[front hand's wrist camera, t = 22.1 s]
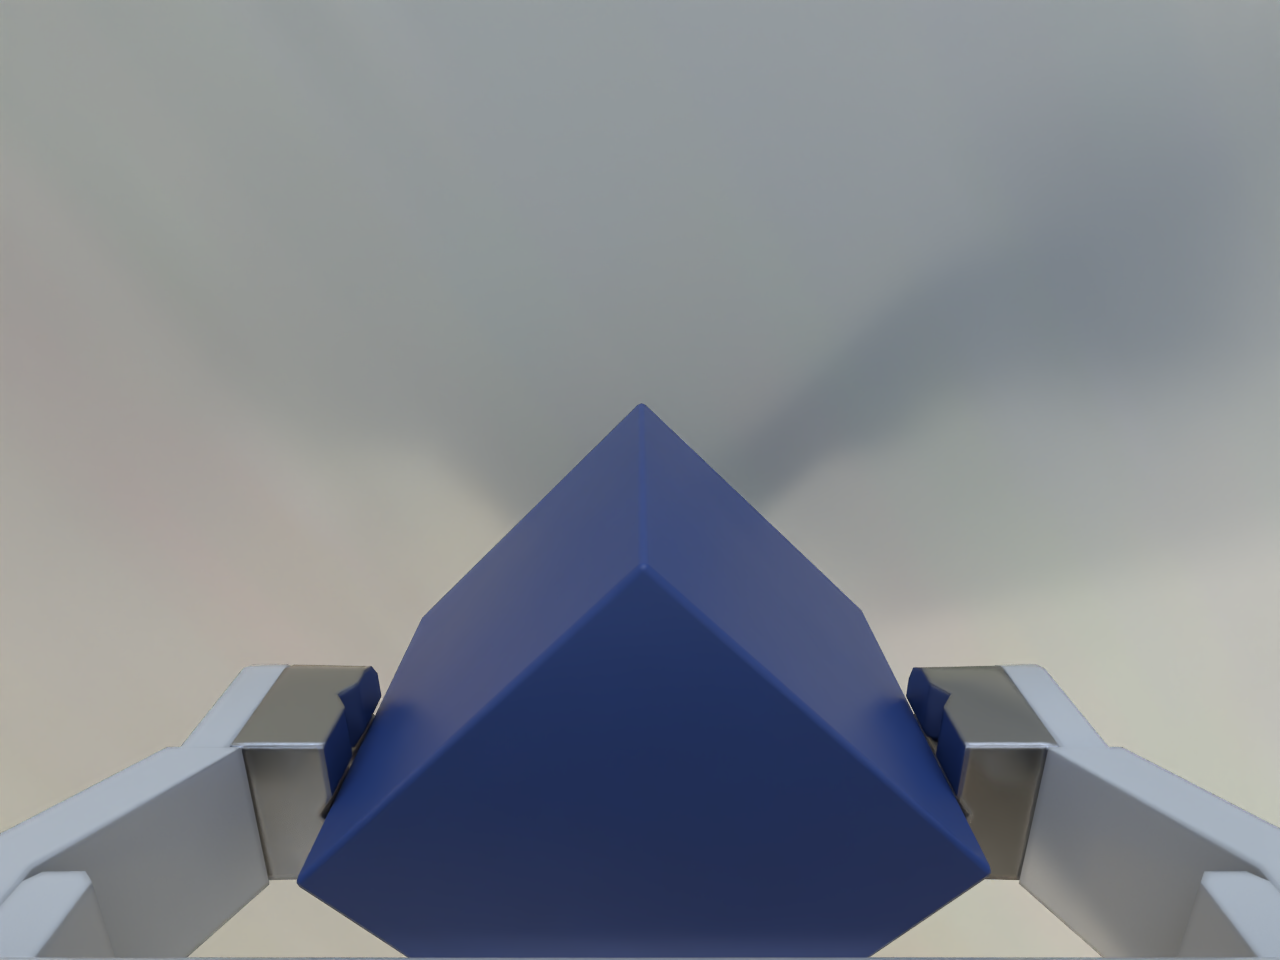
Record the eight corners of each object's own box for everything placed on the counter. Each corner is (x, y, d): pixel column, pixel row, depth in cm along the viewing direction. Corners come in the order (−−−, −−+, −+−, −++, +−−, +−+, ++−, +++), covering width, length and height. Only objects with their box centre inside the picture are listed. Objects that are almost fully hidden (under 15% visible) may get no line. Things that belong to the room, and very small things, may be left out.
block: (641, 792, 14) (642, 1114, 9) (420, 618, 12) (291, 885, 8) (862, 610, 12) (997, 875, 8) (641, 399, 11) (643, 563, 7)
